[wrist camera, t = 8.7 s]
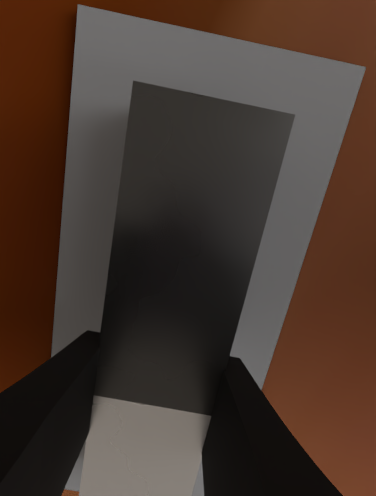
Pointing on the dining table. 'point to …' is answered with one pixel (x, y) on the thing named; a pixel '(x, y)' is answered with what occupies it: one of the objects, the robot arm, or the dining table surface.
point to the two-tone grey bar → (176, 282)
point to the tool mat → (209, 84)
